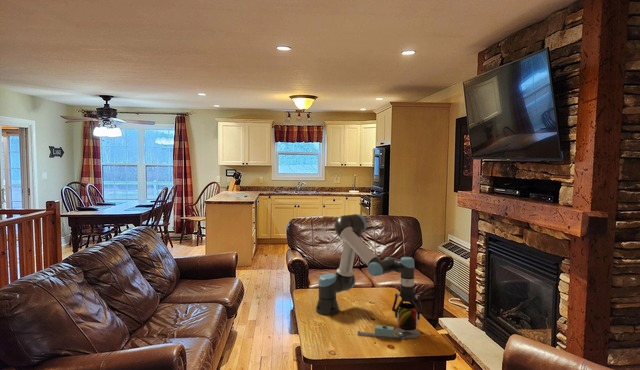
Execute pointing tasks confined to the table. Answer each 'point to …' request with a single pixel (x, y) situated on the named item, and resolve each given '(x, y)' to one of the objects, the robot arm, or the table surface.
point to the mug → (407, 317)
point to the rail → (380, 336)
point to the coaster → (407, 333)
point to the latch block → (384, 331)
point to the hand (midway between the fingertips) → (407, 324)
